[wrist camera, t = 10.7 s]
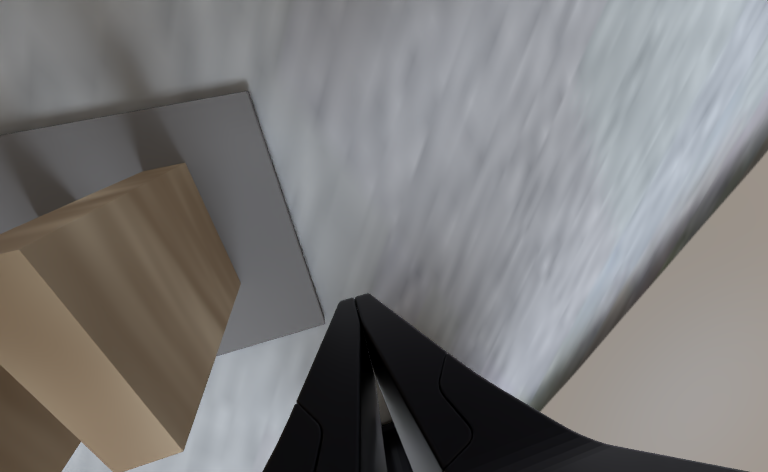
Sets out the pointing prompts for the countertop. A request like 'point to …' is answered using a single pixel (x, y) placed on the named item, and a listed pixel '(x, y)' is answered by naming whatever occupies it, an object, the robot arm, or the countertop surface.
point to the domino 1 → (30, 432)
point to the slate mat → (213, 180)
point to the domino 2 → (118, 313)
